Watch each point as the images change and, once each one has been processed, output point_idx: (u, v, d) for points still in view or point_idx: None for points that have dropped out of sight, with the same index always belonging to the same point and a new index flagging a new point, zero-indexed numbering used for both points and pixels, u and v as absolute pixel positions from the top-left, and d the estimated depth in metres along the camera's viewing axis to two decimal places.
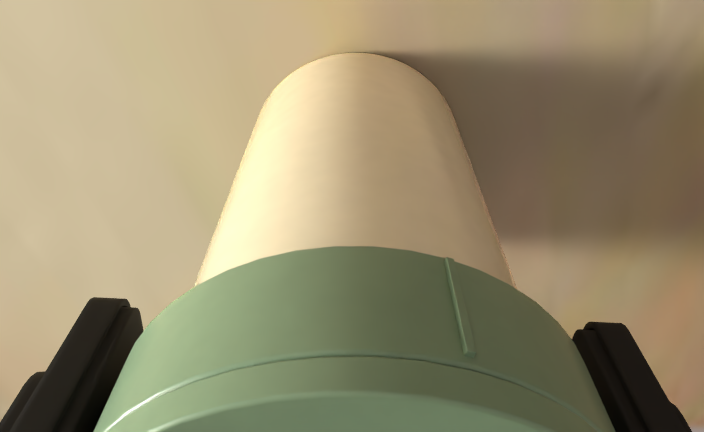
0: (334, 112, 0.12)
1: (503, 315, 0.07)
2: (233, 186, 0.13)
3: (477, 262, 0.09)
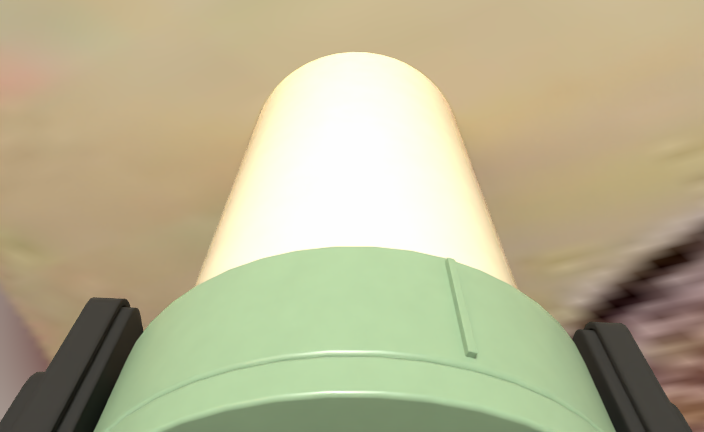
0: None
1: (504, 315, 0.07)
2: (423, 138, 0.12)
3: None
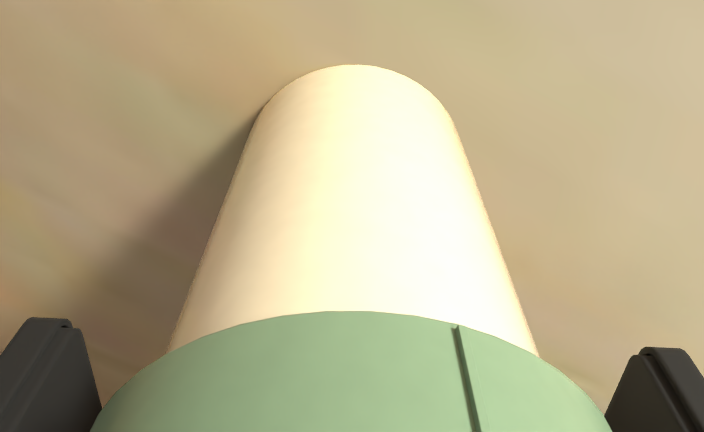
0: None
1: (526, 398, 0.06)
2: None
3: None
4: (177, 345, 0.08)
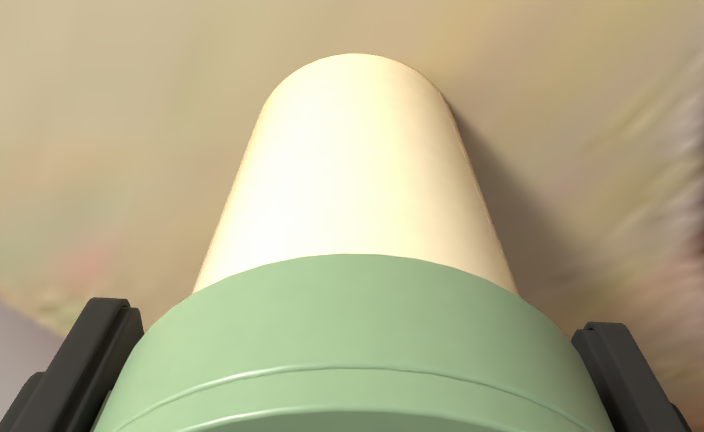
0: (442, 139, 0.13)
1: (106, 404, 0.07)
2: (324, 128, 0.12)
3: None
4: None
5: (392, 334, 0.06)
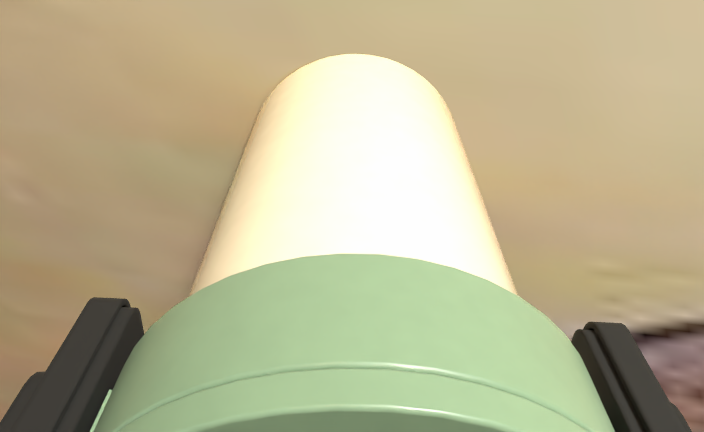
0: None
1: (107, 404, 0.07)
2: (472, 182, 0.12)
3: None
4: None
5: (394, 334, 0.06)
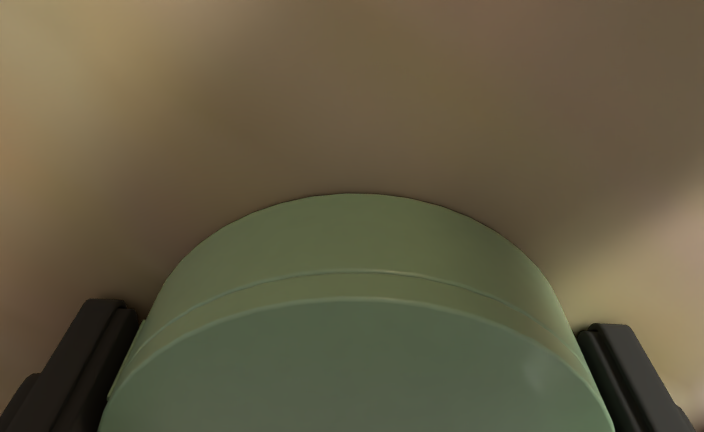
0: None
1: (144, 325, 0.09)
2: None
3: None
4: None
5: (387, 250, 0.07)
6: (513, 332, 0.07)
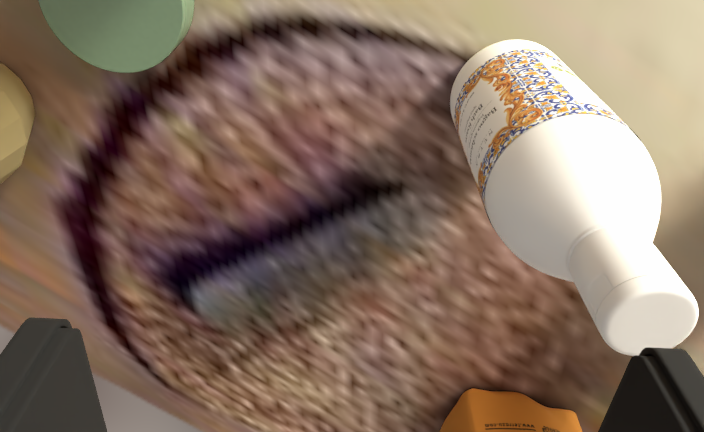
0: None
1: None
2: None
3: None
4: None
5: None
6: None
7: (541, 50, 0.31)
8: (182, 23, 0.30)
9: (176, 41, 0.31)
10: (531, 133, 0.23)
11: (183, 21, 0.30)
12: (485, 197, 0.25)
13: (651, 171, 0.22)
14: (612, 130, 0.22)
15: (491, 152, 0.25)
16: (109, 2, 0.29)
